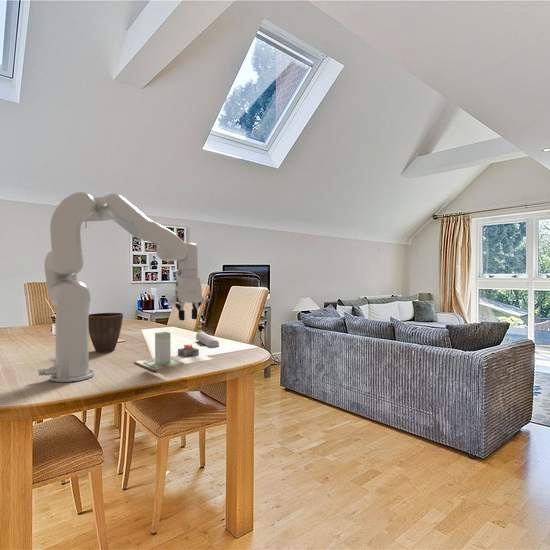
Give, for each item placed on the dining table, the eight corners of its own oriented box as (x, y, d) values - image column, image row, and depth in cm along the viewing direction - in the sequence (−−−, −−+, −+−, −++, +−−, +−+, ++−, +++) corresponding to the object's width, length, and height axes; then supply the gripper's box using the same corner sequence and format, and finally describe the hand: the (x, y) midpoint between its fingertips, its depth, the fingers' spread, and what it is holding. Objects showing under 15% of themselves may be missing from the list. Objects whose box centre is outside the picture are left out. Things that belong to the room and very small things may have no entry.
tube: (222, 340, 172) (207, 332, 195) (211, 337, 170) (197, 329, 193) (218, 352, 172) (204, 342, 194) (207, 349, 170) (194, 340, 192)
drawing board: (153, 372, 131) (153, 362, 131) (134, 364, 144) (133, 354, 144) (216, 361, 147) (216, 352, 147) (194, 354, 160) (193, 346, 160)
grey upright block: (160, 365, 137) (159, 334, 137) (155, 363, 140) (155, 332, 140) (170, 363, 140) (170, 332, 140) (165, 361, 143) (165, 331, 143)
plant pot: (120, 353, 163) (120, 315, 163) (82, 355, 160) (81, 316, 160) (125, 347, 178) (125, 312, 178) (90, 348, 174) (90, 313, 174)
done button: (186, 352, 152) (186, 346, 152) (182, 351, 155) (182, 345, 155) (193, 351, 154) (193, 345, 154) (189, 350, 157) (189, 344, 157)
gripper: (172, 274, 146) (172, 322, 146) (211, 274, 157) (211, 318, 157) (163, 274, 152) (163, 320, 152) (201, 274, 163) (202, 317, 163)
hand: (188, 319), depth 155 cm, fingers open, 4 cm apart
